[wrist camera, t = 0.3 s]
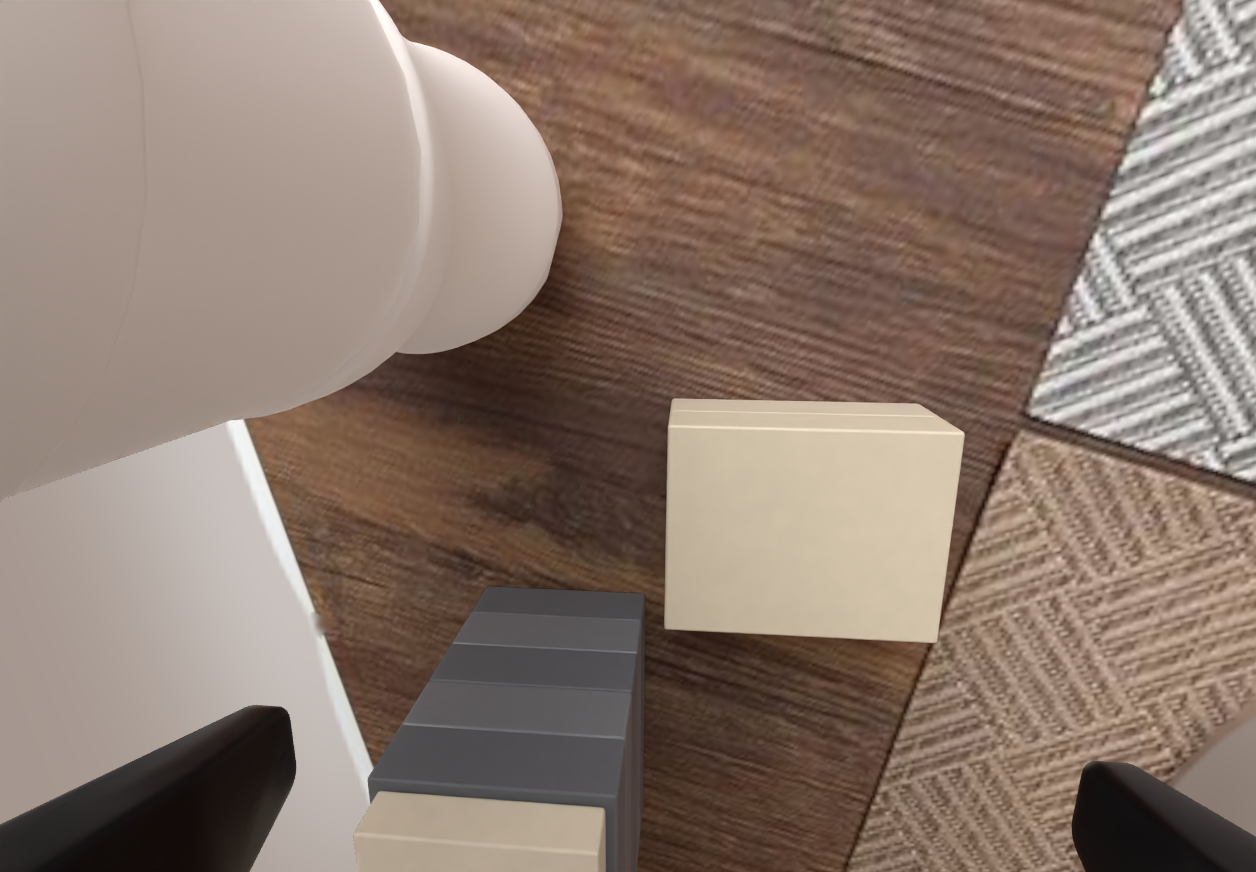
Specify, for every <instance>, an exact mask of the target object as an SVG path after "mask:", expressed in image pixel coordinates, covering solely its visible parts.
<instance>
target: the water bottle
mask: <svg viewBox="0 0 1256 872" xmlns="http://www.w3.org/2000/svg"><path fill="white" fill-rule="evenodd" d="M562 217H563V215H562V202H561V194H560V186H559V180H558V177H557V174H556V170H555V167H554V164H553V161H552V157H551V155H550V153H549V151H548V149H547V147H546V145H545V143H544V141H543V139H542V137H541V135H540V133H539V132H538V130H537V129H536V128H535V126H534V125H533V123H532V122H531V121H530V119H529V118H528V117H527V115H526V114H525V113H524V111H523V110H522V109H521V107H520V106H519V105H518V104H517V103H516V102H515V101H514V99H513V98H512V97H511V96H510V95H509V94H508V93H506V92H505V91H504V90H503V89H502V88H501V87H500V86H498V85H497V84H496V83H495V82H494V81H493V80H492V79H490V78H489V77H488V76H486V75H485V74H484V73H482V72H481V71H479V70H478V69H476V68H475V67H473V66H471V65H470V64H468V63H466V62H465V61H463V60H461V59H459V58H457V57H455V56H453V55H451V54H449V53H446V52H444V51H441V50H439V49H436V48H433V47H429V46H426V45H422V44H419V43H414V42H410V41H408V40H407V39H405V38H404V37H402V36H401V34H400V32H399V30H398V29H397V27H396V25H395V24H394V22H393V20H392V19H391V17H390V16H389V14H388V13H387V11H386V10H385V9H384V7H383V6H382V4H381V3H380V2H379V0H0V501H2V500H3V499H5V498H6V497H9V496H13V495H15V494H18V493H21V492H24V491H27V490H30V489H33V488H36V487H39V486H42V485H44V484H47V483H50V482H53V481H56V480H59V479H62V478H65V477H67V476H70V475H73V474H76V473H79V472H82V471H85V470H88V469H91V468H94V467H97V466H99V465H102V464H105V463H108V462H111V461H114V460H117V459H120V458H122V457H125V456H128V455H131V454H134V453H137V452H140V451H143V450H146V449H149V448H152V447H154V446H157V445H160V444H163V443H166V442H169V441H172V440H175V439H178V438H180V437H183V436H186V435H189V434H192V433H195V432H198V431H201V430H204V429H207V428H209V427H212V426H215V425H218V424H221V423H224V422H227V421H230V420H239V419H248V418H256V417H263V416H267V415H271V414H275V413H279V412H283V411H287V410H289V409H292V408H295V407H297V406H300V405H302V404H305V403H308V402H310V401H313V400H316V399H319V398H322V397H325V396H327V395H329V394H331V393H334V392H336V391H338V390H340V389H342V388H344V387H346V386H348V385H350V384H352V383H353V382H355V381H357V380H358V379H360V378H362V377H363V376H365V375H366V374H368V373H370V372H371V371H373V370H374V369H375V368H376V367H378V366H379V365H380V364H382V363H383V362H384V361H385V360H387V359H388V358H389V357H391V356H392V355H393V354H394V353H395V352H400V353H406V354H427V353H436V352H442V351H446V350H450V349H454V348H457V347H460V346H463V345H465V344H468V343H471V342H474V341H476V340H478V339H480V338H483V337H485V336H487V335H489V334H491V333H493V332H495V331H497V330H498V329H500V328H502V327H503V326H504V325H506V324H507V323H508V322H510V321H511V320H512V319H514V318H515V317H517V316H518V315H519V314H520V313H521V312H522V311H523V310H524V309H525V308H526V307H527V306H528V305H529V304H530V302H531V301H532V300H533V299H534V298H535V297H536V295H537V294H538V292H539V291H540V289H541V288H542V286H543V285H544V283H545V281H546V280H547V277H548V274H549V270H550V266H551V263H552V259H553V255H554V251H555V247H556V243H557V239H558V235H559V231H560V227H561V223H562Z"/></svg>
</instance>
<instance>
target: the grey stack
mask: <svg viewBox="0 0 1256 872" xmlns="http://www.w3.org/2000/svg"><path fill="white" fill-rule="evenodd" d="M645 597H646V595H645V594H642V593H620V592H599V591H577V590H556V589H534V588H513V587H491V586H488V587H487V588H486V589H485V591H484V593H483V594H482V596H481V597H480V599H479V601H478V602H477V604H476V605H475V607H474V609H473V610H472V612H471V614H470V615H469V617H468V618H467V620H466V622H465V623H464V625H463V626H462V628H461V630H460V631H459V633H458V634H457V636H456V638H455V639H454V641H453V643H452V644H451V646H450V647H449V649H448V651H447V652H446V654H445V655H444V657H443V659H442V660H441V662H440V663H439V665H438V667H437V668H436V670H435V671H434V673H433V675H432V676H431V678H430V681H429V682H428V683H427V685H426V686H425V688H424V690H423V691H422V693H421V694H420V696H419V698H418V699H417V701H416V702H415V704H414V706H413V707H412V709H411V710H410V712H409V714H408V715H407V717H406V718H405V720H404V722H403V724H402V726H400V727H399V729H398V731H397V732H396V734H395V735H394V737H393V739H392V740H391V742H390V743H389V745H388V747H387V748H386V750H385V751H384V753H383V755H382V756H381V758H380V759H379V761H378V763H377V764H376V766H375V767H374V769H373V771H372V772H371V774H370V775H369V777H368V788H369V796H370V805H371V803H372V801H373V800H374V798H375V796H376V794H377V793H378V792H379V791H389V792H403V793H416V794H429V795H443V796H456V797H470V798H483V799H496V800H510V801H523V802H537V803H550V804H564V805H577V806H590V807H602V808H604V809H605V822H606V872H637V866H638V855H639V844H640V833H641V821H642V810H643V782H644V690H645Z"/></svg>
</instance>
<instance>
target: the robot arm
mask: <svg viewBox="0 0 1256 872" xmlns="http://www.w3.org/2000/svg"><path fill="white" fill-rule="evenodd" d="M295 774H296V760H295V751H294V745H293V736H292V729H291V721H290V717H289V714H288V712H287V711H286V710H285V709H284V708H282V707H276V706H262V705H252V706H248V707H245V708H243V709H241V710H239V711H237V712H235V713H233V714H230V715H228V716H226V717H224V718H222V719H220V720H218V721H216V722H214V723H212V724H210V725H207V726H206V727H203V728H201V729H199V730H197V731H195V732H193V733H191V734H189V735H186V736H184V737H182V738H180V739H178V740H176V741H174V742H172V743H170V744H168V745H166V746H163V747H162V748H159V749H157V750H155V751H153V752H151V753H149V754H147V755H145V756H143V757H141V758H138V759H136V760H134V761H132V762H130V763H128V764H126V765H124V766H122V767H119V768H117V769H115V770H113V771H111V772H109V773H107V774H105V775H103V776H101V777H99V778H96V779H95V780H92V781H90V782H88V783H86V784H84V785H82V786H80V787H78V788H76V789H74V790H71V791H69V792H67V793H65V794H63V795H61V796H59V797H57V798H55V799H53V800H51V801H49V802H46V803H44V804H42V805H40V806H38V807H36V808H34V809H32V810H30V811H27V812H25V813H23V814H21V815H19V816H17V817H15V818H13V819H11V820H9V821H6V822H5V823H2V824H0V872H250V869H251V868H252V866H253V864H254V862H255V860H256V858H257V856H258V854H259V852H260V850H261V848H262V846H263V844H264V842H265V840H266V838H267V836H268V834H269V832H270V830H271V828H272V826H273V824H274V822H275V820H276V818H277V816H278V814H279V812H280V810H281V808H282V806H283V804H284V802H285V800H286V798H287V796H288V794H289V792H290V790H291V788H292V786H293V783H294V779H295ZM1072 836H1073V841H1074V845H1075V848H1076V851H1077V853H1078V856H1079V858H1080V860H1081V862H1082V865H1083V867H1084V869H1085V872H1256V837H1255V836H1254V835H1252V834H1250V833H1249V832H1247V831H1245V830H1243V829H1242V828H1240V827H1238V826H1236V825H1235V824H1233V823H1231V822H1230V821H1228V820H1226V819H1224V818H1223V817H1221V816H1220V815H1218V814H1216V813H1214V812H1213V811H1211V810H1209V809H1208V808H1206V807H1204V806H1203V805H1201V804H1199V803H1197V802H1196V801H1194V800H1192V799H1191V798H1189V797H1187V796H1185V795H1184V794H1182V793H1180V792H1179V791H1177V790H1175V789H1174V788H1172V787H1170V786H1168V785H1167V784H1165V783H1163V782H1162V781H1160V780H1158V779H1157V778H1155V777H1153V776H1151V775H1150V774H1148V773H1146V772H1145V771H1143V770H1141V769H1140V768H1138V767H1136V766H1134V765H1131V764H1128V763H1119V762H1104V761H1092V762H1089V763H1088V764H1086V766H1085V767H1084V768H1083V771H1082V774H1081V779H1080V784H1079V789H1078V794H1077V799H1076V804H1075V809H1074V814H1073V819H1072Z"/></svg>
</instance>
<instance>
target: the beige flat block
mask: <svg viewBox="0 0 1256 872" xmlns="http://www.w3.org/2000/svg"><path fill="white" fill-rule="evenodd" d="M353 837H354V846H355V854H356V863H357V871H358V872H606V822H605V809H604V808H602V807H590V806H577V805H564V804H550V803H537V802H523V801H510V800H496V799H483V798H470V797H456V796H443V795H429V794H416V793H403V792H389V791H379V792H378V793H377V794H376V796H375V798H374V800H373V801H372V803H371V805H370V806H369V808H368V810H367V811H366V813H365V815H364V817H363V818H362V820H361V822H360V823H359V825H358V827H357V828H356V830H355V832H354V836H353Z"/></svg>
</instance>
